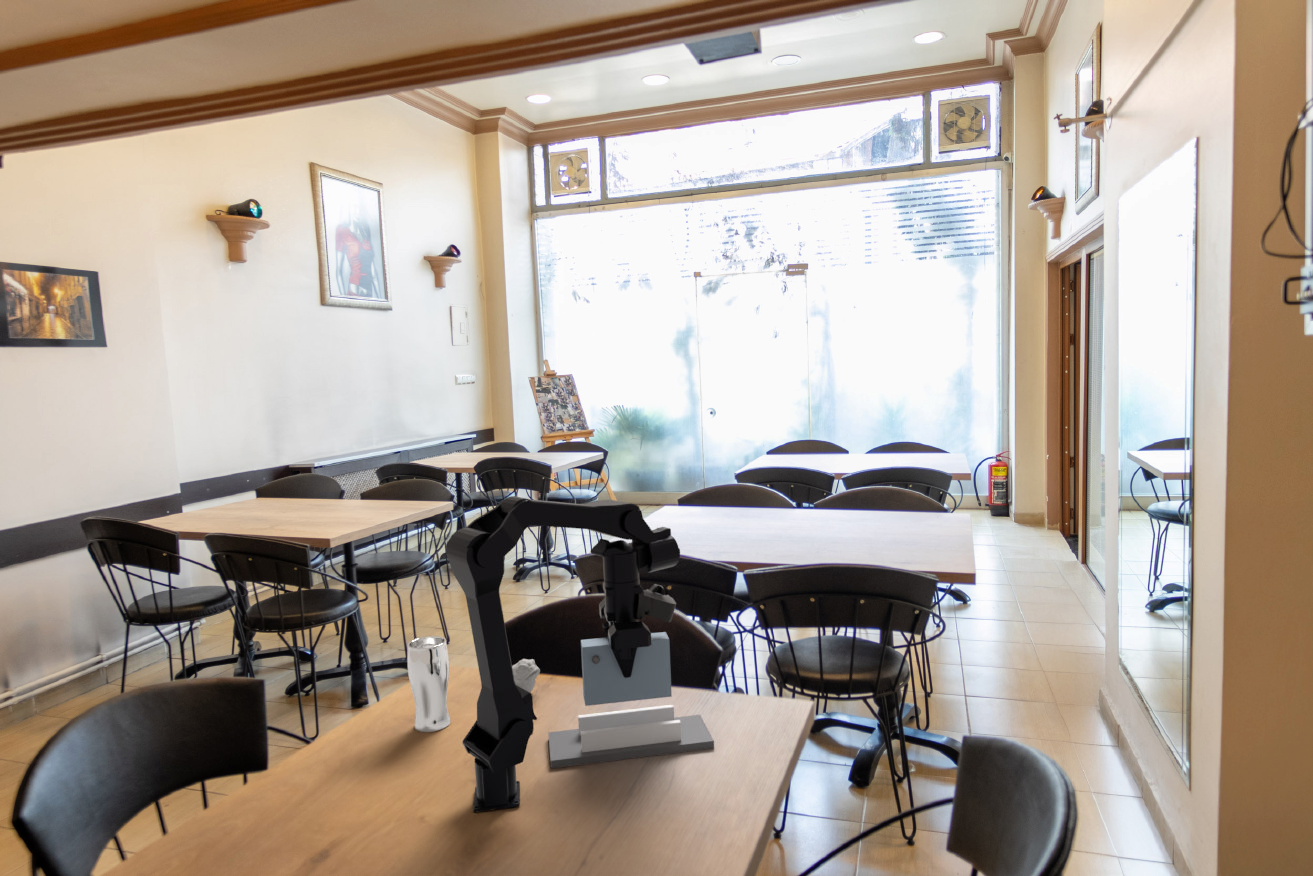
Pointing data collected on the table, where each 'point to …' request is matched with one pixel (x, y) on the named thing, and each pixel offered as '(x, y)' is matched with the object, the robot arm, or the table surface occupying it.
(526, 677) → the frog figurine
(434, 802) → the table surface
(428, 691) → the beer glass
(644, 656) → the door
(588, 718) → the hinge frame
